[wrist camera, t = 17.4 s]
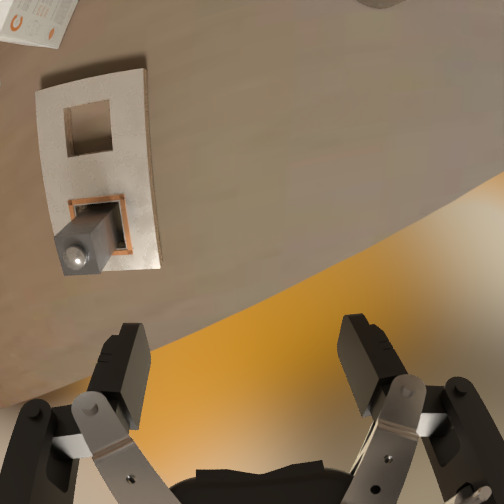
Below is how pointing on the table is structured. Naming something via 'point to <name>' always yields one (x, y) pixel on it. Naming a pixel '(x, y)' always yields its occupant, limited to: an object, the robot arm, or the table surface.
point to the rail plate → (103, 162)
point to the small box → (35, 21)
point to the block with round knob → (89, 239)
